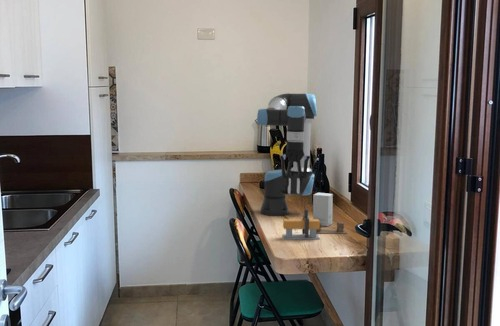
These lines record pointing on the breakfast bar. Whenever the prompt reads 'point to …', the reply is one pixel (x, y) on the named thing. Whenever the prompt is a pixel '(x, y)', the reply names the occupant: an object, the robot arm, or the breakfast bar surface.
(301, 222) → the orange tapered block
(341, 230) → the rest
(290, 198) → the breakfast bar surface
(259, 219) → the breakfast bar surface
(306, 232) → the grey gate frame
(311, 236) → the clip mount
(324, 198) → the skincare box
